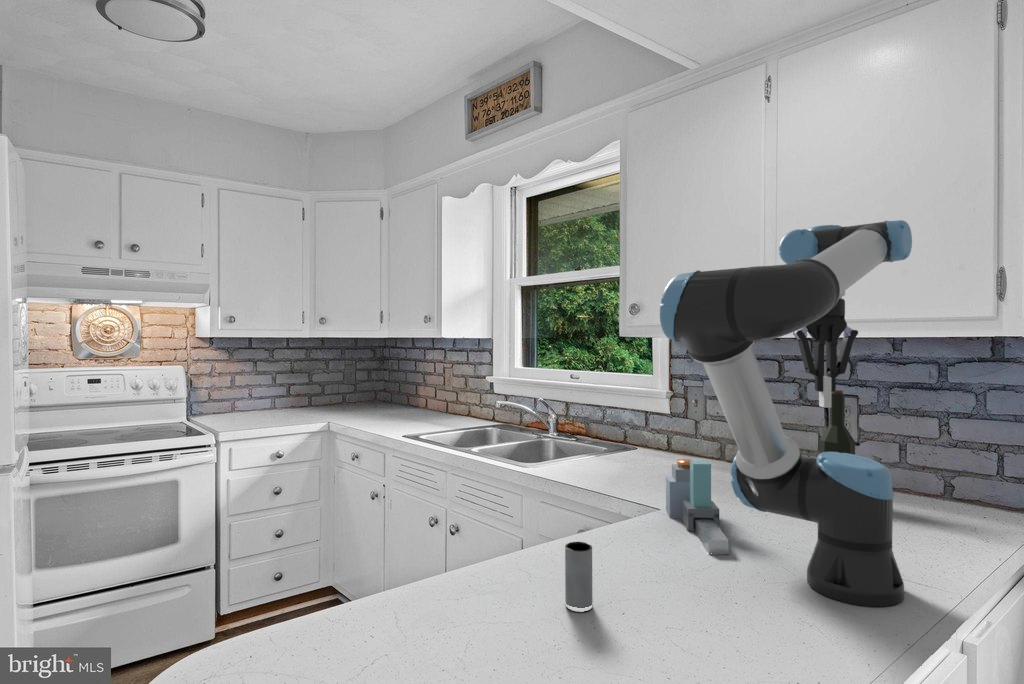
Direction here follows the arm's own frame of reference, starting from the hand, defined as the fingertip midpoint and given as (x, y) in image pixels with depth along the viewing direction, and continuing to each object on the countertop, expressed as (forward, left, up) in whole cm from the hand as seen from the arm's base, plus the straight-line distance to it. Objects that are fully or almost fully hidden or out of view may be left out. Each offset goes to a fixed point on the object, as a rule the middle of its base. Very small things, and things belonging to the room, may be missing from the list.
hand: (825, 406), depth 133 cm
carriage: (+8, +25, -29) cm, 39 cm away
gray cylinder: (-36, +54, -30) cm, 71 cm away
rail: (+2, +25, -29) cm, 39 cm away
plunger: (+17, +27, -24) cm, 39 cm away
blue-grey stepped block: (+17, +27, -29) cm, 43 cm away
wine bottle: (+30, -15, -30) cm, 45 cm away
